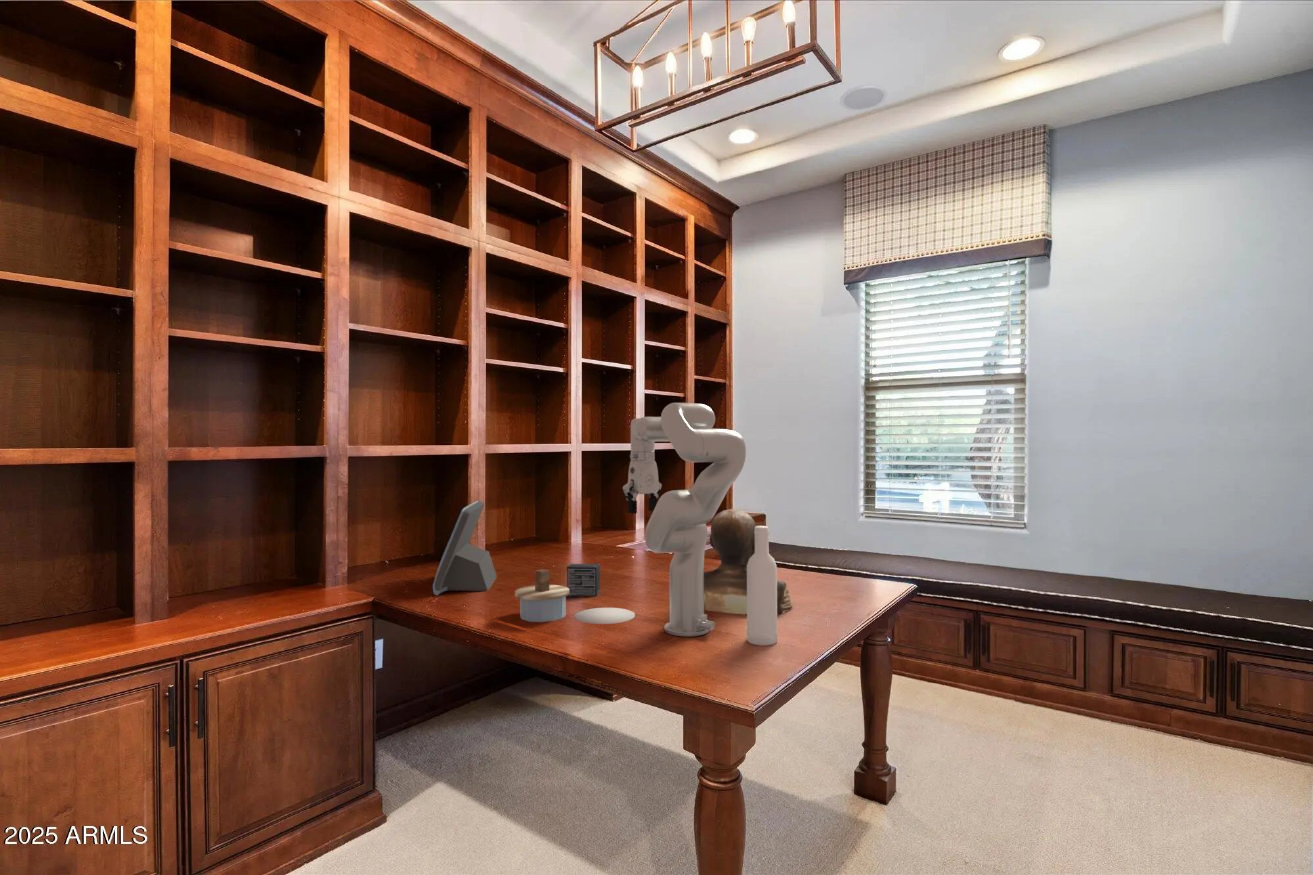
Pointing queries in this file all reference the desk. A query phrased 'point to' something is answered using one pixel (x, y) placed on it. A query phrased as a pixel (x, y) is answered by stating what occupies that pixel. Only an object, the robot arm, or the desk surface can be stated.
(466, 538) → the touchscreen device
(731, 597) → the portrait bust
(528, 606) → the bowl
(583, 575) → the small box
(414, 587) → the desk surface
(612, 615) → the mat
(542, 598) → the lid
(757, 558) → the bottle
